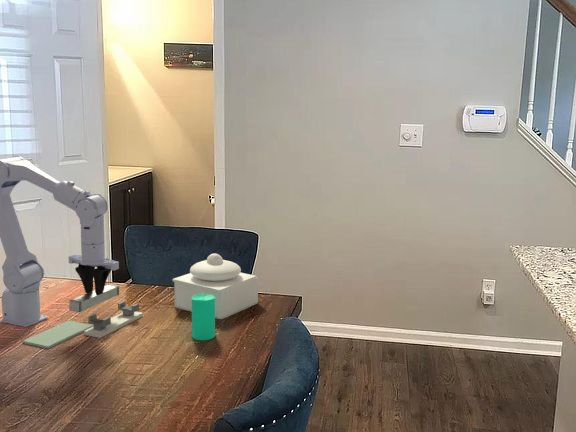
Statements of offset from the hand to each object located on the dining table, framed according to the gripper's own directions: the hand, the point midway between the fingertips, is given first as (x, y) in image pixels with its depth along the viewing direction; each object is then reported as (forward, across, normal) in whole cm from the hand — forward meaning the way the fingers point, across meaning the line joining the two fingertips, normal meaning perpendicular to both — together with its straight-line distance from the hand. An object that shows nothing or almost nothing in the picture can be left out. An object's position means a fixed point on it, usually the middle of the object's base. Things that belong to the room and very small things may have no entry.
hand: (94, 293), depth 165 cm
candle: (+10, +28, +8) cm, 31 cm away
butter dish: (+10, +19, +30) cm, 37 cm away
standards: (+10, +3, +4) cm, 11 cm away
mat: (+10, -5, -8) cm, 13 cm away
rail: (+3, 0, 0) cm, 3 cm away
